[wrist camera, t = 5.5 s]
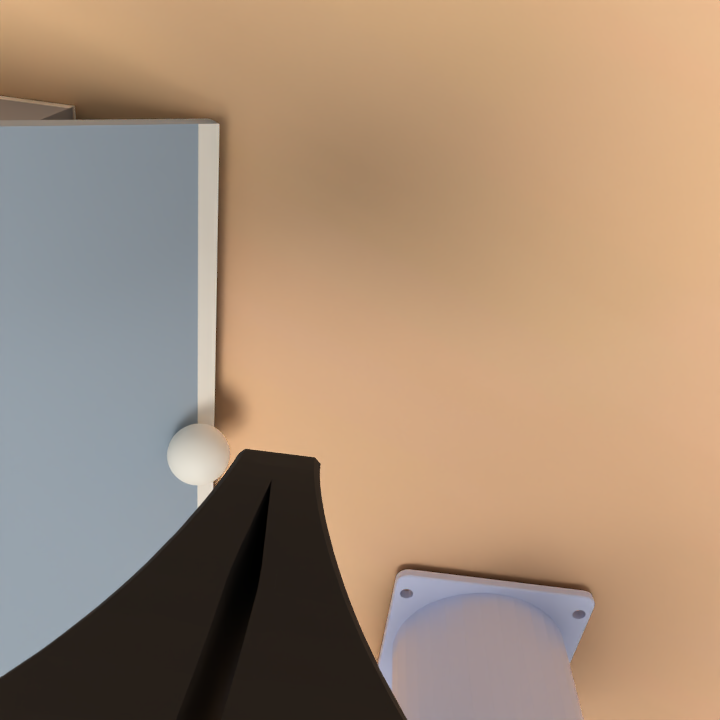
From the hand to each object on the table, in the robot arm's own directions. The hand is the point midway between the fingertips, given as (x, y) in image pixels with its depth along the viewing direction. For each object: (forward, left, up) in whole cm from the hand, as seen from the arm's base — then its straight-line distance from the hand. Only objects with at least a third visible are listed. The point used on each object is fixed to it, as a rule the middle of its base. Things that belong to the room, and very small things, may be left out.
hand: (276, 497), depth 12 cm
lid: (-6, +9, -6) cm, 12 cm away
